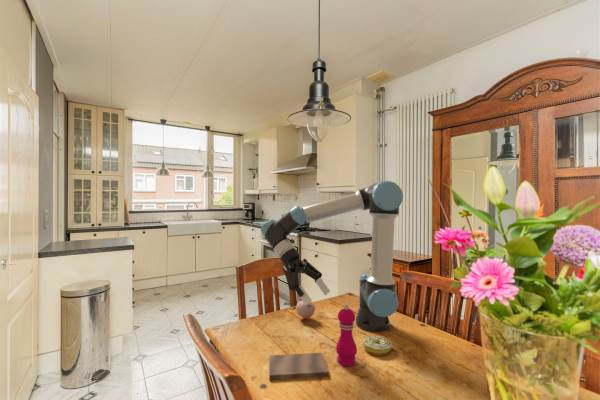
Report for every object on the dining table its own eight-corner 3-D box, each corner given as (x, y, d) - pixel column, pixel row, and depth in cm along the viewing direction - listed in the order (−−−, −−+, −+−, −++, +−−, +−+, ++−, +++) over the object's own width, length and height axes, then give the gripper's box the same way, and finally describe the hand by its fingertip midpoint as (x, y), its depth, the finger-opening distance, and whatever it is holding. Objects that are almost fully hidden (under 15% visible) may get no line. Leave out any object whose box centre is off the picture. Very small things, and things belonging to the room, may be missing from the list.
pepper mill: (356, 368, 99) (356, 309, 99) (335, 366, 100) (335, 307, 100) (356, 357, 106) (357, 302, 106) (336, 355, 107) (337, 300, 108)
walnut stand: (321, 356, 106) (321, 352, 106) (328, 376, 94) (328, 371, 94) (269, 359, 104) (269, 355, 104) (269, 380, 92) (269, 375, 92)
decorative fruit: (292, 318, 141) (292, 297, 141) (305, 314, 146) (305, 294, 146) (304, 324, 134) (304, 303, 134) (317, 320, 139) (318, 299, 139)
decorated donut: (396, 349, 112) (396, 339, 112) (383, 361, 104) (383, 350, 104) (372, 340, 119) (372, 331, 119) (358, 350, 111) (358, 340, 111)
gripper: (299, 254, 130) (328, 295, 121) (261, 264, 109) (293, 313, 101) (309, 243, 127) (340, 284, 118) (272, 251, 106) (306, 301, 98)
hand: (318, 298), depth 110 cm, fingers open, 13 cm apart
